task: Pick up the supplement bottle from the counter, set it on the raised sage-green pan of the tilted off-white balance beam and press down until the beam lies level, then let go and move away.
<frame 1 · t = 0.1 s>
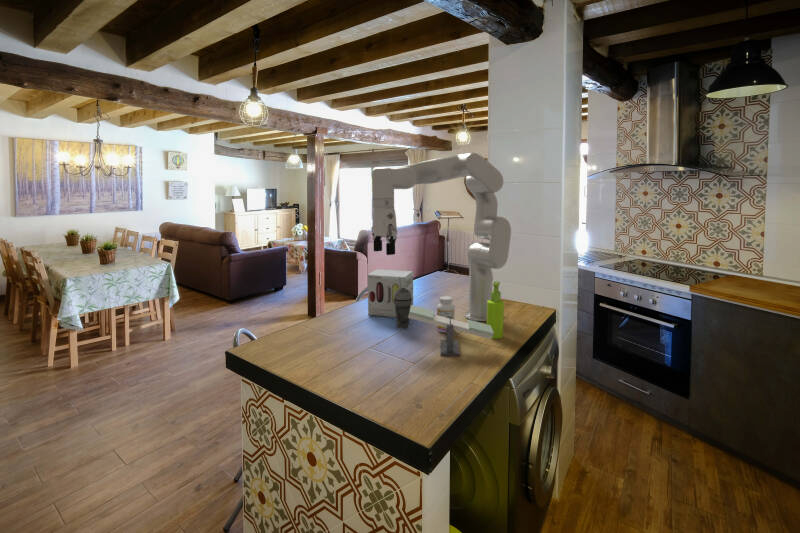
hand: (384, 252, 146), 31 cm above the table, tool pointing down, fingers open, 9 cm apart
beam: (450, 322, 137), point 9 cm above the table, hinge at -14.0°
beverage cup: (402, 327, 162), on the table
supplement box: (391, 313, 181), on the table
pivot stand: (449, 348, 139), on the table
soap dispenser: (494, 336, 151), on the table
supplement bottle: (445, 330, 158), on the table
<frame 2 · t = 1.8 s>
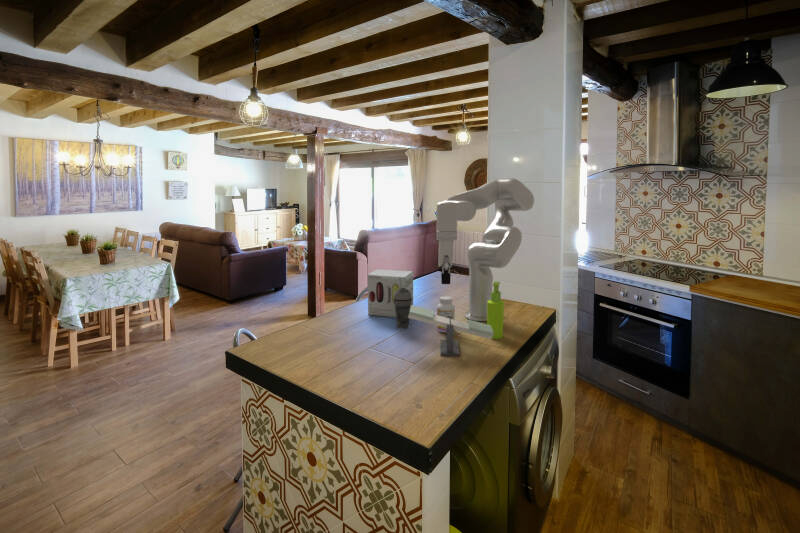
hand: (445, 281, 154), 19 cm above the table, tool pointing down, fingers open, 9 cm apart
nothing on the table moved.
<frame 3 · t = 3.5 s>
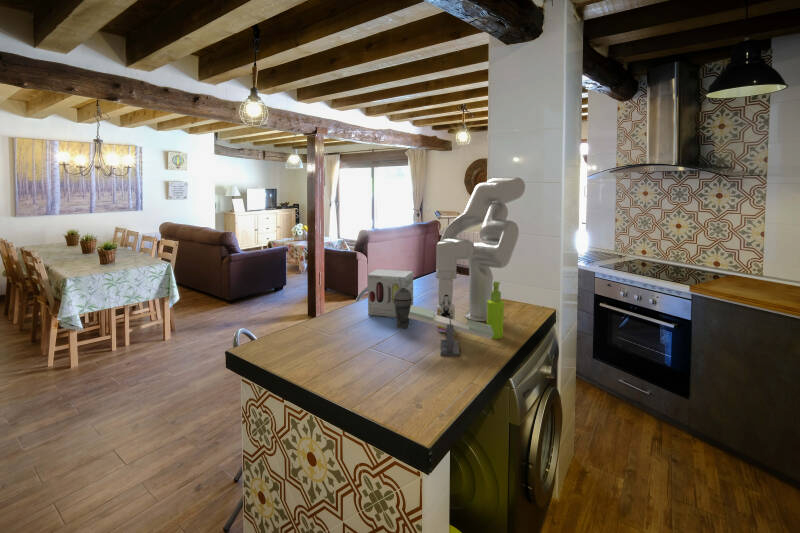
hand: (445, 319, 157), 4 cm above the table, tool pointing down, fingers closed on supplement bottle, 6 cm apart
supplement bottle: (445, 330, 158), on the table, touching gripper
everything else where it was.
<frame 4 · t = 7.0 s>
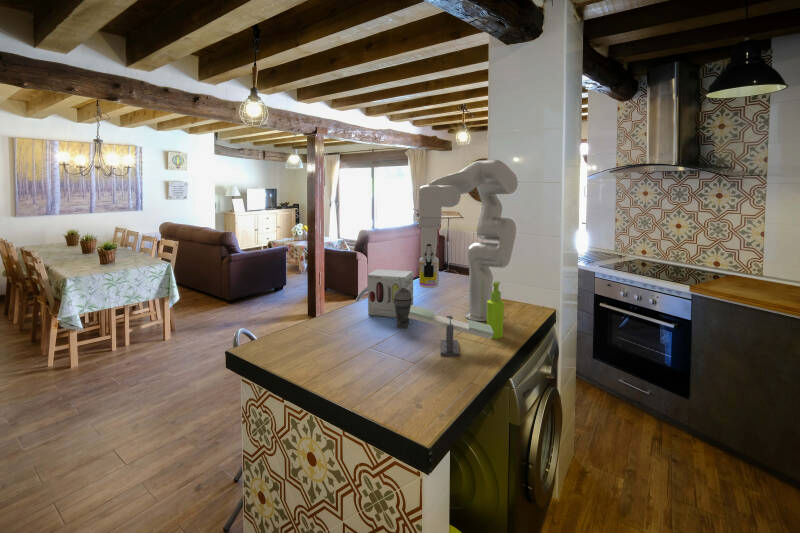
hand: (428, 274, 141), 24 cm above the table, tool pointing down, fingers closed on supplement bottle, 6 cm apart
supplement bottle: (428, 287, 142), point 20 cm above the table, touching gripper
everything else where it was.
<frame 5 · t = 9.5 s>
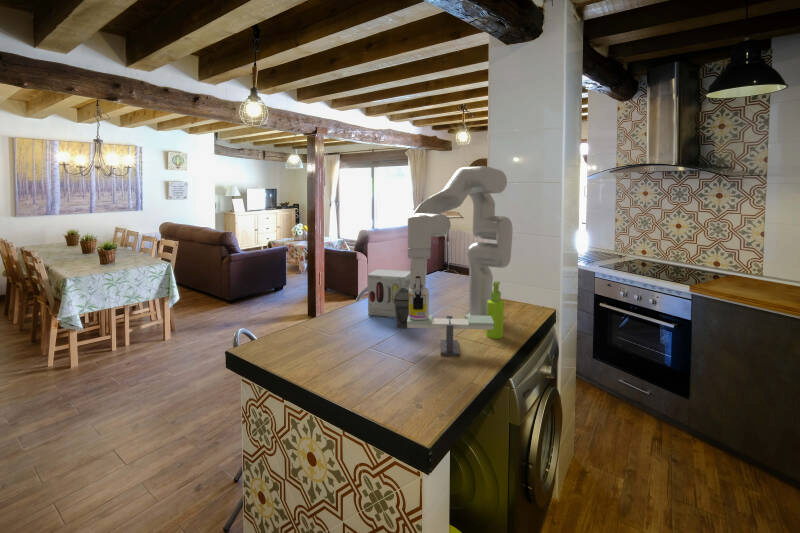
hand: (418, 305, 137), 15 cm above the table, tool pointing down, fingers closed on supplement bottle, 6 cm apart
beam: (449, 322, 137), point 9 cm above the table, hinge at 0.0°, touching supplement bottle
supplement bottle: (418, 318, 138), point 11 cm above the table, touching beam, gripper
everything else where it was.
when the fingers open (15 cm above the table, at t = 10.6 s): supplement bottle stays where it is, resting on beam.
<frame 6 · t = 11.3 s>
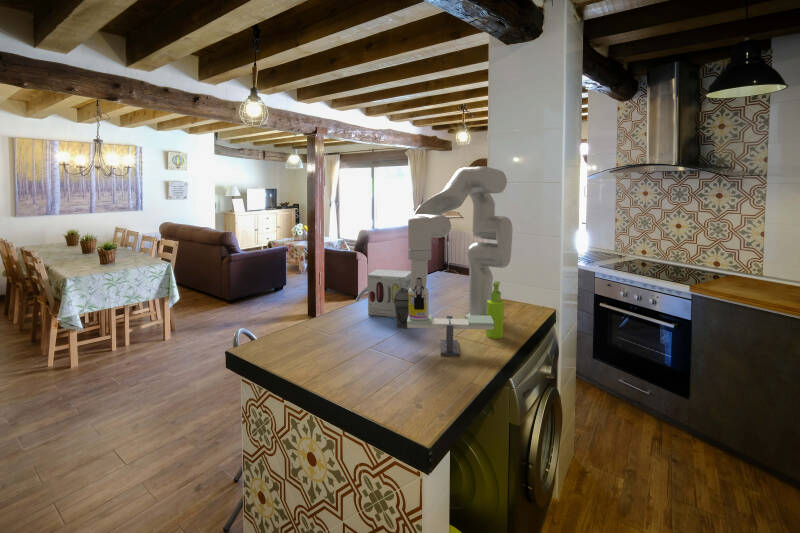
hand: (419, 305, 137), 15 cm above the table, tool pointing down, fingers open, 9 cm apart
supplement bottle: (418, 318, 138), point 11 cm above the table, touching beam
everything else where it was.
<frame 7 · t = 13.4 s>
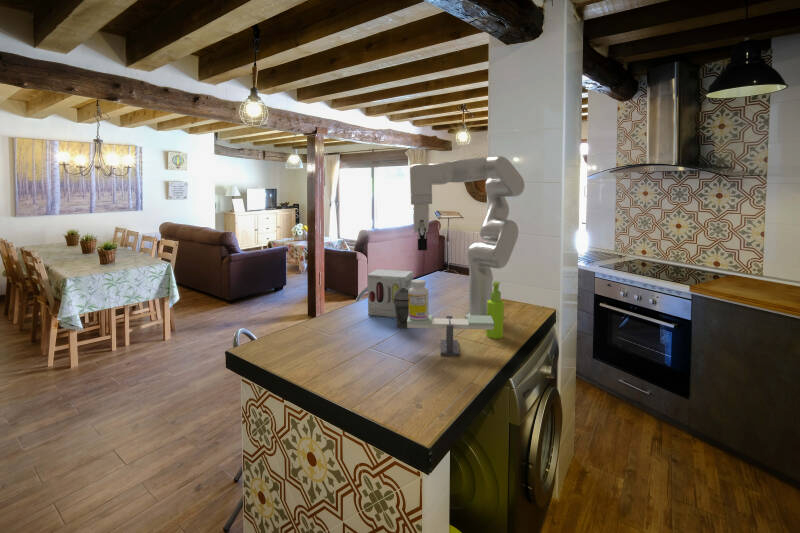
hand: (422, 247, 148), 32 cm above the table, tool pointing down, fingers open, 9 cm apart
nothing on the table moved.
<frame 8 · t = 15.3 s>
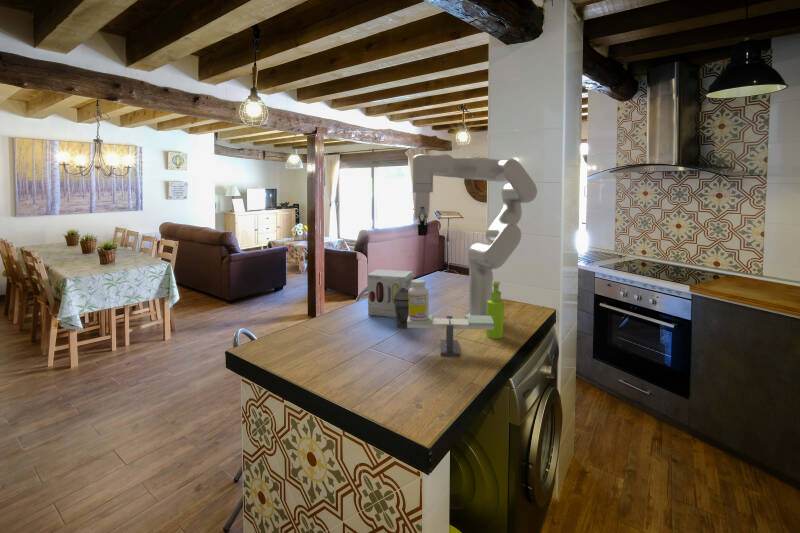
hand: (422, 234, 158), 36 cm above the table, tool pointing down, fingers open, 9 cm apart
nothing on the table moved.
at the end: beam at +0° (first picture: -14°); supplement bottle inside the target area (0.5 cm from its centre), point 10.5 cm above the table; supplement bottle tilted 0° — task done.
